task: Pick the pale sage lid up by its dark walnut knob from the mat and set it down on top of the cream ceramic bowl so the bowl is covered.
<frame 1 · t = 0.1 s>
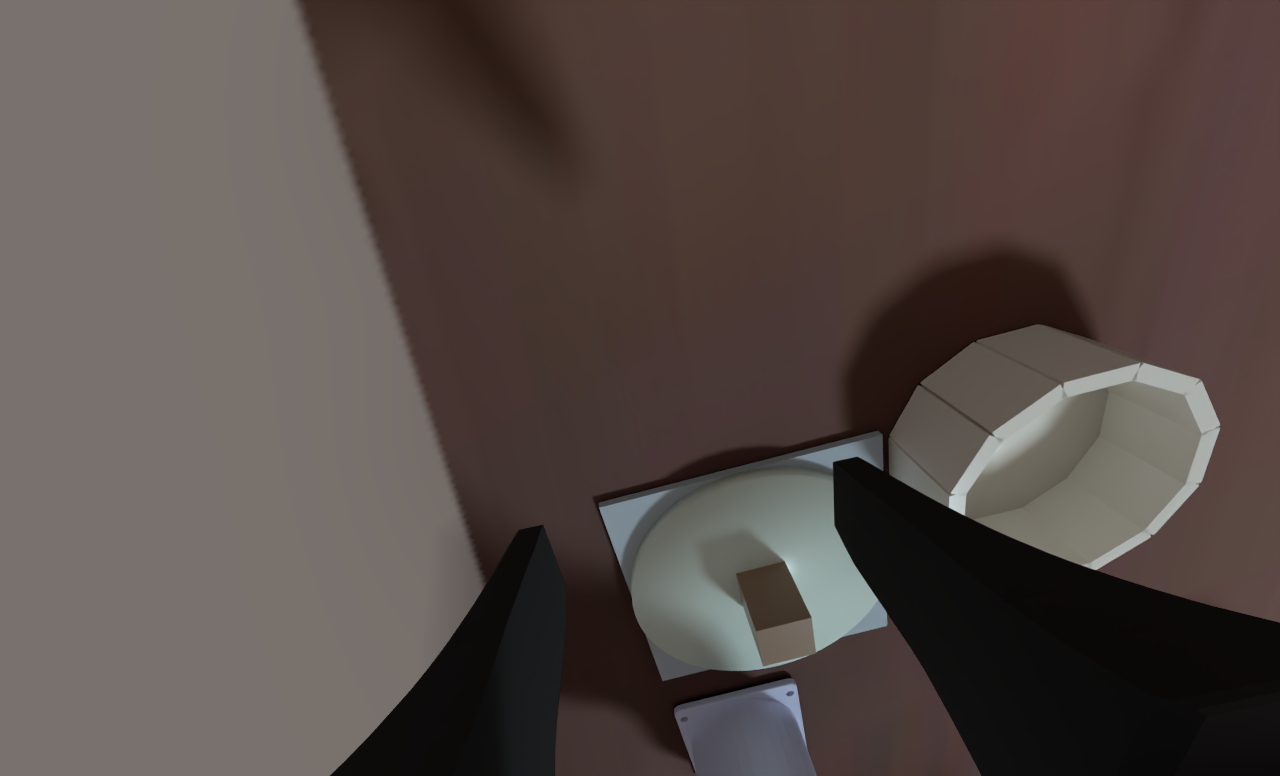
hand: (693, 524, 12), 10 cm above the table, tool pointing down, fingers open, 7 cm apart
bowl: (996, 433, 24), on the table
mat: (756, 567, 27), on the table
lid: (758, 572, 26), resting on mat
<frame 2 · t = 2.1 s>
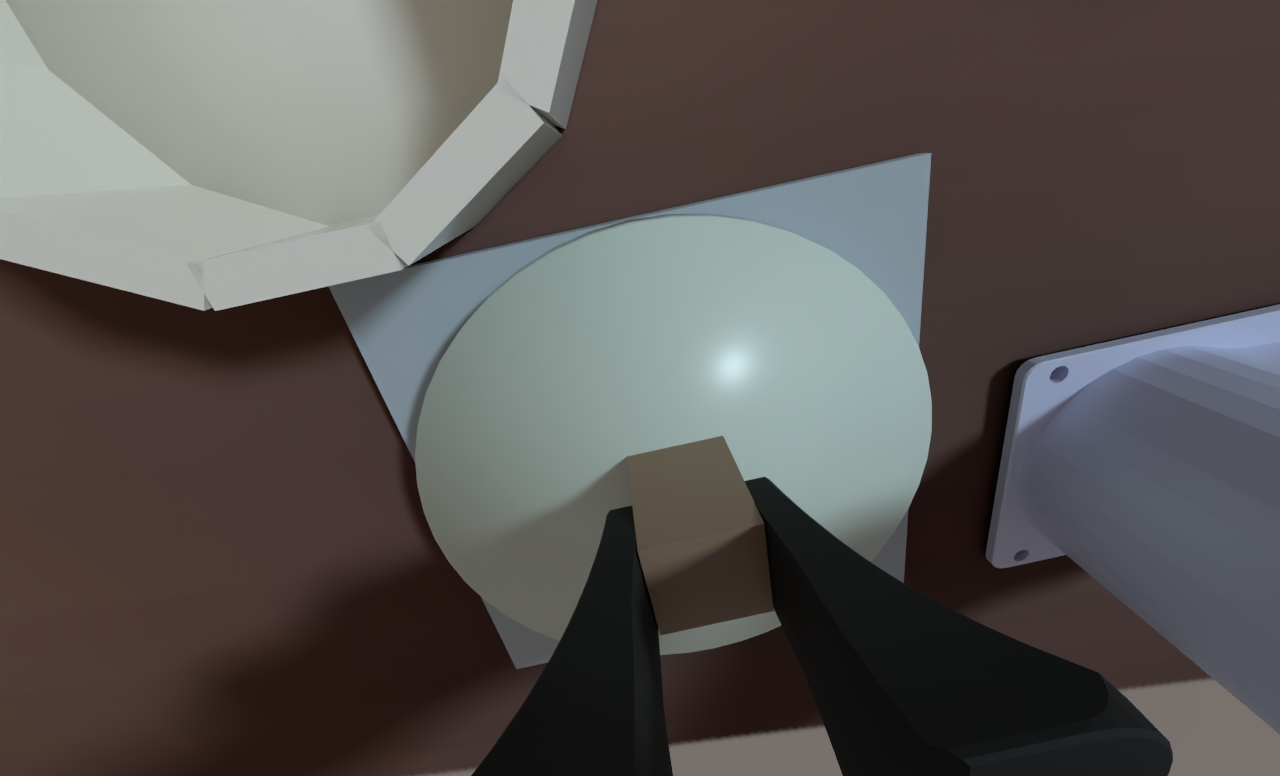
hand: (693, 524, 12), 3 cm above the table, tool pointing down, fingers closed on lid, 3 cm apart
mat: (675, 460, 14), on the table
lid: (677, 468, 14), resting on mat, touching gripper
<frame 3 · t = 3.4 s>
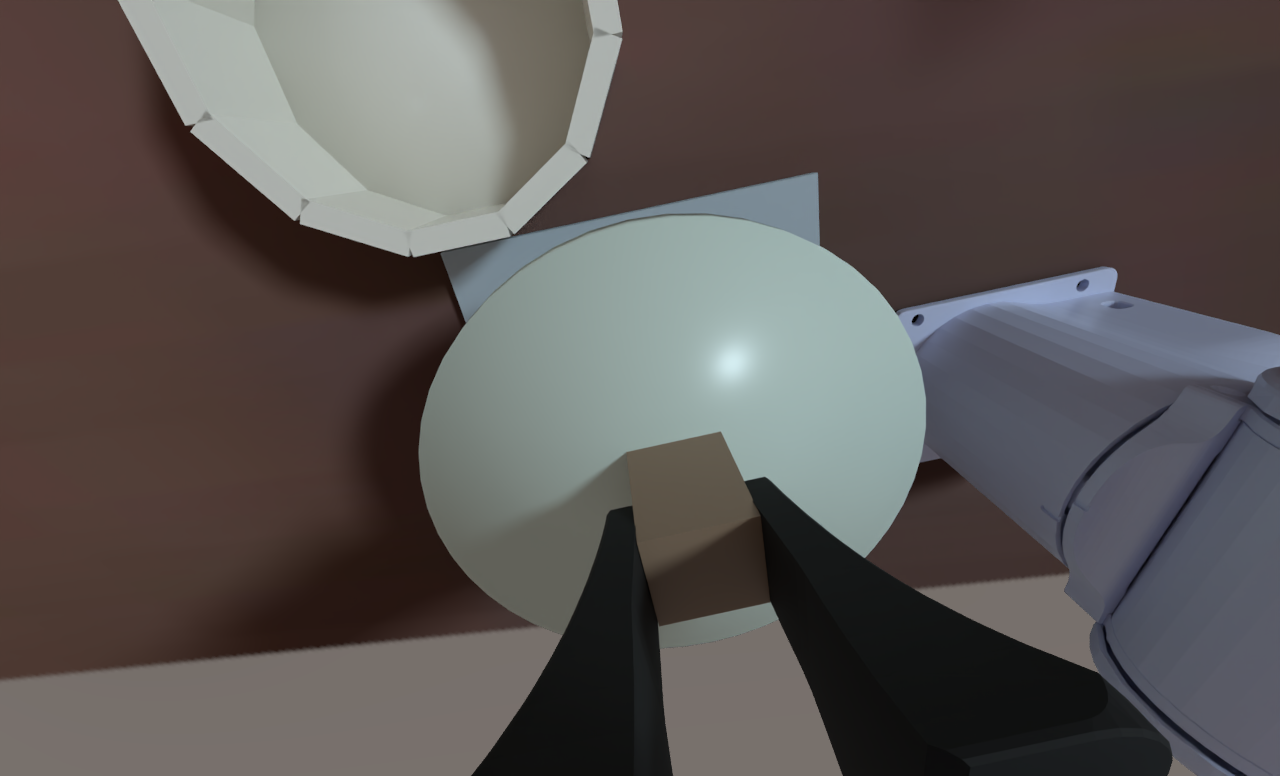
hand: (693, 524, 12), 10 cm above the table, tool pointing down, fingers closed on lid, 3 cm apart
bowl: (435, 48, 15), on the table
mat: (660, 379, 21), on the table
lid: (676, 463, 14), point 7 cm above the table, touching gripper
when the fingers open (8 cm above the table, at t = 4.9 s): lid stays where it is, resting on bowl.
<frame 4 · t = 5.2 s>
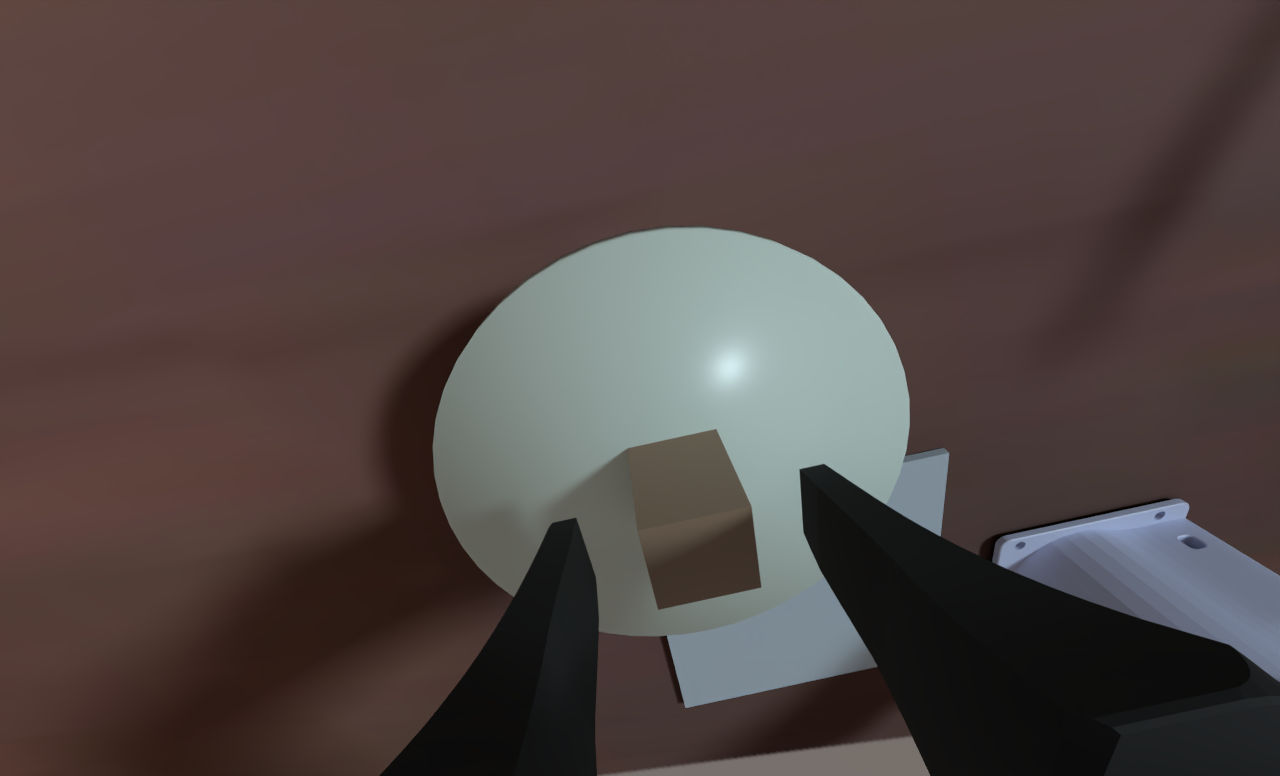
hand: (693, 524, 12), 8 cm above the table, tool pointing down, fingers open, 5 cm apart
mat: (797, 590, 25), on the table
lid: (674, 459, 15), point 4 cm above the table, touching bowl
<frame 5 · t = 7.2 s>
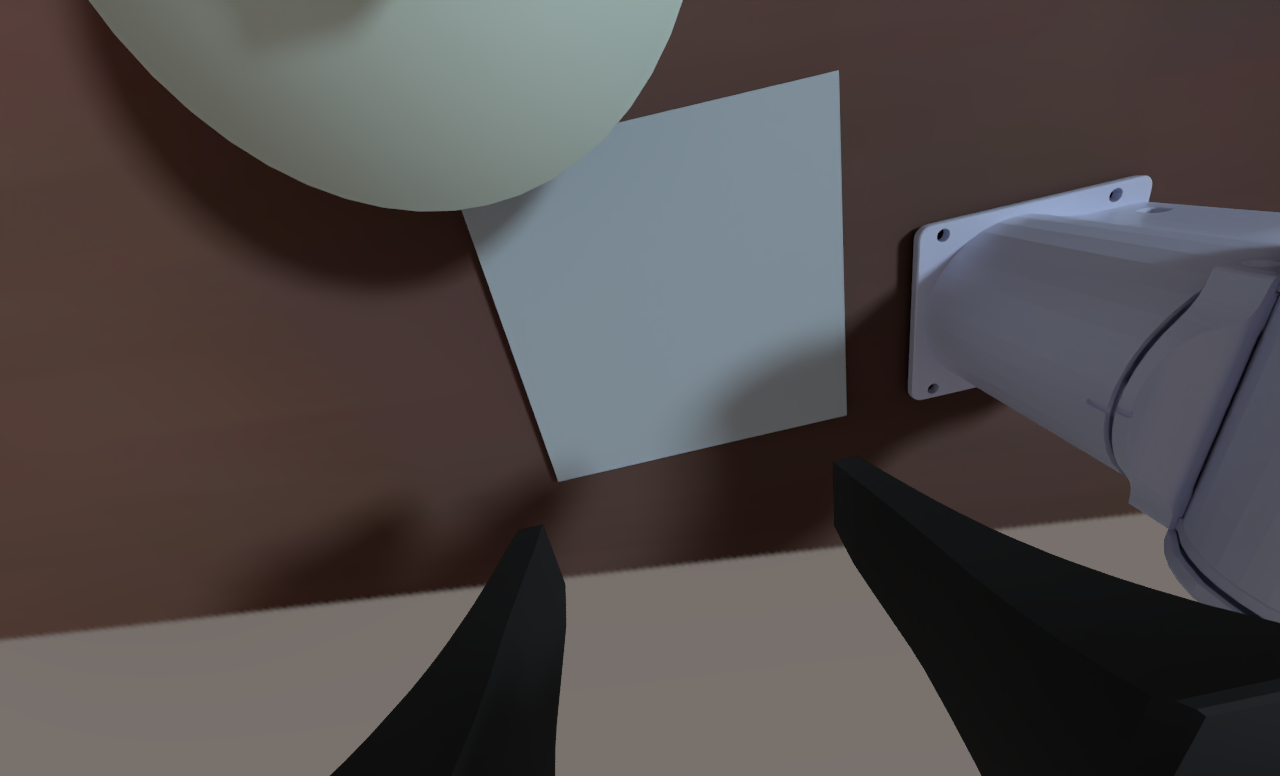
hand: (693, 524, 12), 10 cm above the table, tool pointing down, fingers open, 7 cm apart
mat: (674, 305, 20), on the table
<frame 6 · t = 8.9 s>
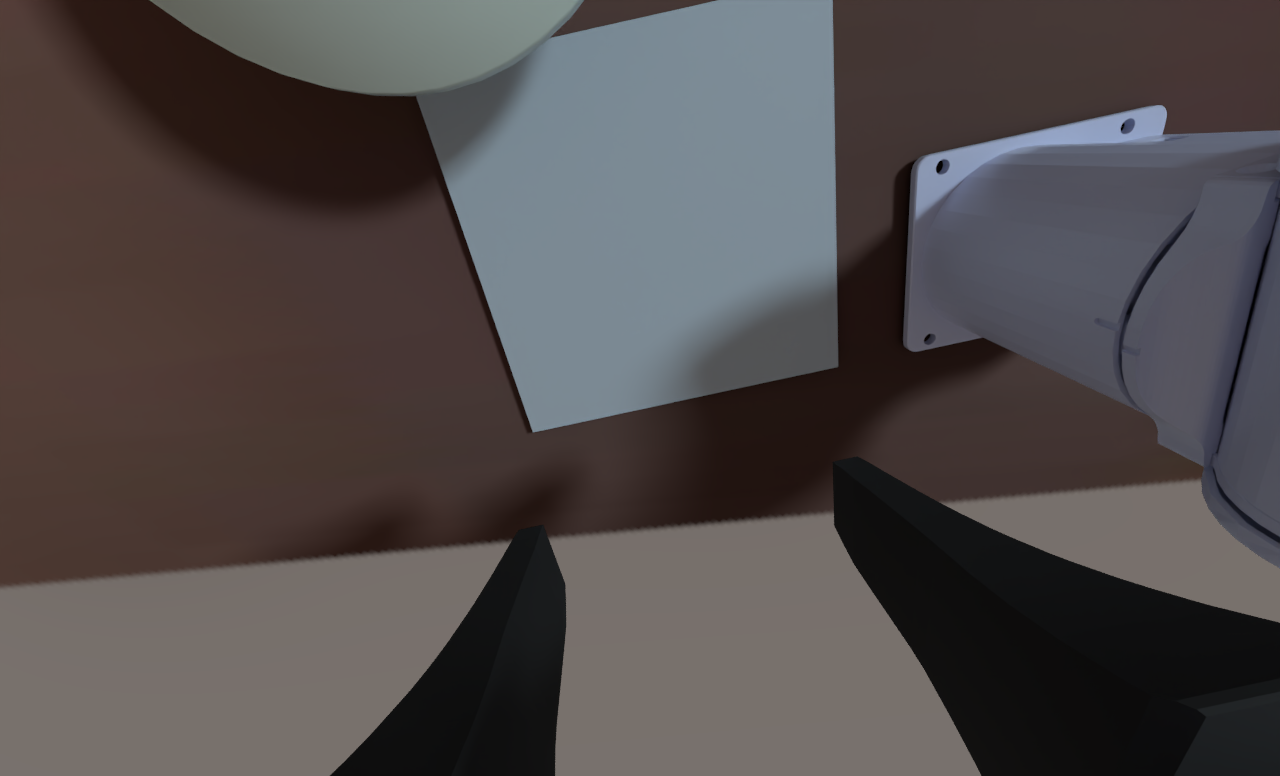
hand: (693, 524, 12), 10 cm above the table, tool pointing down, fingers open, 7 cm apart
mat: (656, 240, 19), on the table
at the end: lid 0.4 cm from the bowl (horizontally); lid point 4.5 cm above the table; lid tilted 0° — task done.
